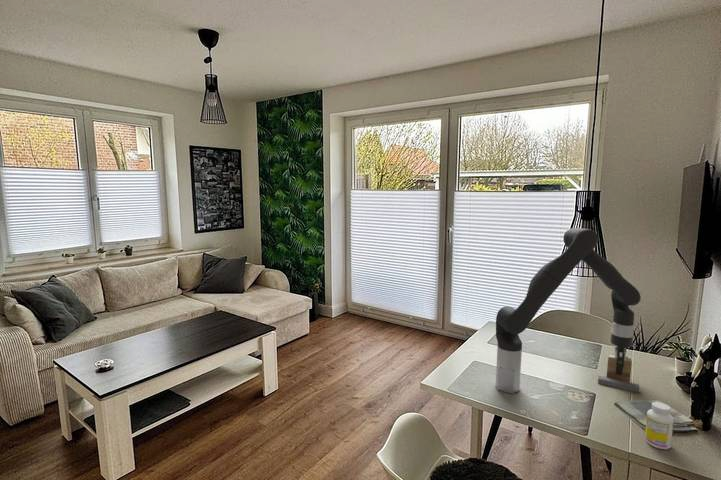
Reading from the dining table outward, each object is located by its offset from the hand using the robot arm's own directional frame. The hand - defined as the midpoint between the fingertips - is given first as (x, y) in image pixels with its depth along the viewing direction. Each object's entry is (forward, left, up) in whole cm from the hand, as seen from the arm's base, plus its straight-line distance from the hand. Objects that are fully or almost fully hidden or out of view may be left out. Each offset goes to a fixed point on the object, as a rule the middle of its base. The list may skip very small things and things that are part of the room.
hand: (618, 370), depth 161 cm
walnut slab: (0, 0, -5) cm, 5 cm away
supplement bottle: (-41, -10, -5) cm, 43 cm away
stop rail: (-5, 0, -5) cm, 7 cm away
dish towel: (-24, -11, -6) cm, 27 cm away
